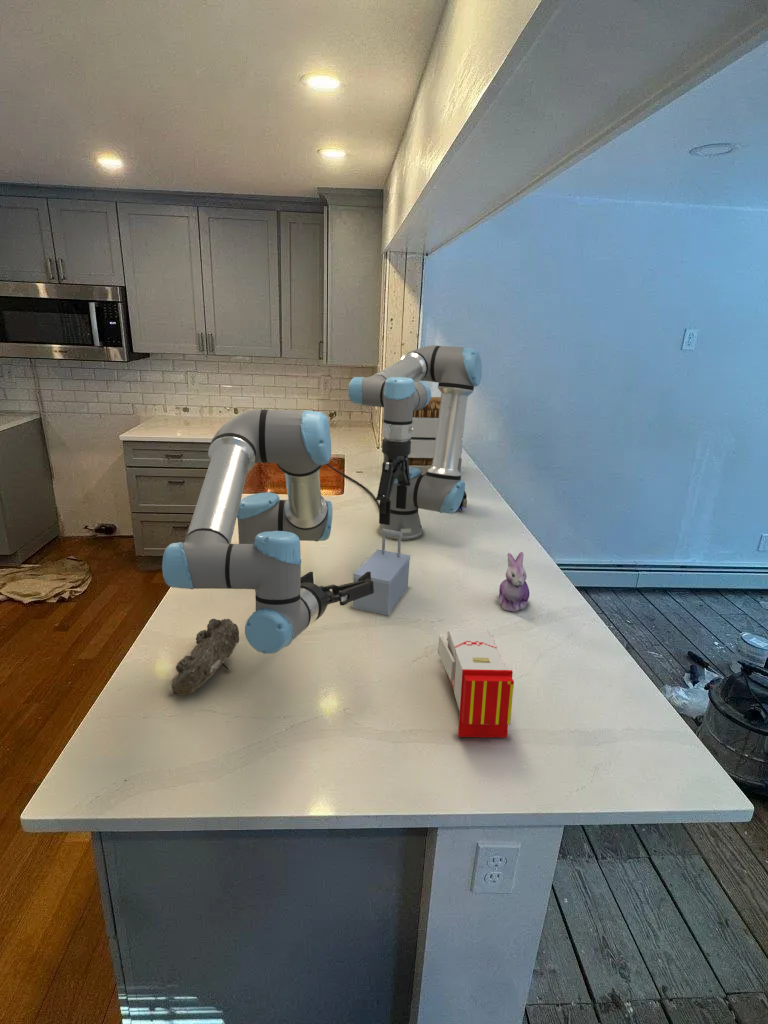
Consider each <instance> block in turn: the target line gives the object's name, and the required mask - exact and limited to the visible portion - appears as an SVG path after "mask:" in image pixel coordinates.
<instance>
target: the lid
mask: <svg viewBox="0 0 768 1024" xmlns="http://www.w3.org/2000/svg"><path fill="white" fill-rule="evenodd" d="M382 534H383V535H381V536H382V538H381V549H376V550H375V551H374V552H373V553H372V554H371V555H370V557H368V558H367V559H366V561H365V562H364V563H362V564H361V565H360V567H359V568H357V569H356V570H355V571H354V573H353V575H352V576H353V577H352V579H353V578H358V579H359V578H360V577H361V576H363V575H364V574H365V573H366V572H371V581H373V582H377V583H382V584H387V585H390V583H391V582H392V581H393V580H394V578H395V577H396V576H397V575H398V573H399V572H400V571H401V570H402V568H403V567H404V566H405V565H406V564H407V562H408V561H409V560H411V555H410V554H404V553H402V552H401V550H402V540H401V537H402V532H400V531H394V530H388V529H382ZM386 535H391V536H396V537H398V540H397V552H394V551H389V550H386V538H387V537H386Z"/></svg>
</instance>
